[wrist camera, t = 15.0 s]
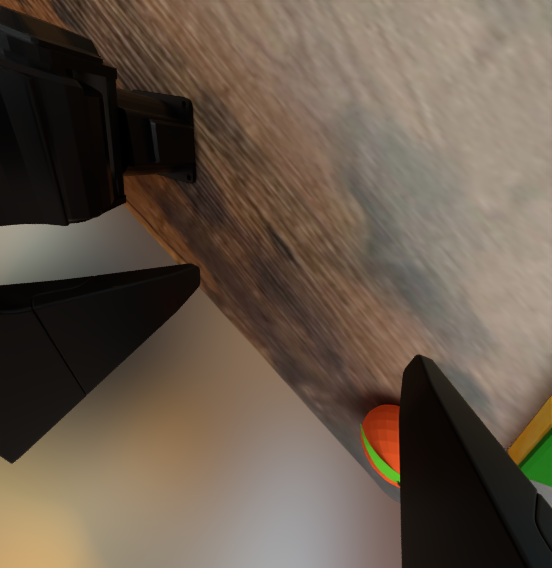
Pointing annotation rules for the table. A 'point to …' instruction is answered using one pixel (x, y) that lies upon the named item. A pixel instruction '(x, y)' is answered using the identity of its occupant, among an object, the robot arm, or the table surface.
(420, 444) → the robot arm
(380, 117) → the table surface
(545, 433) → the dish sponge
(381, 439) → the clementine
